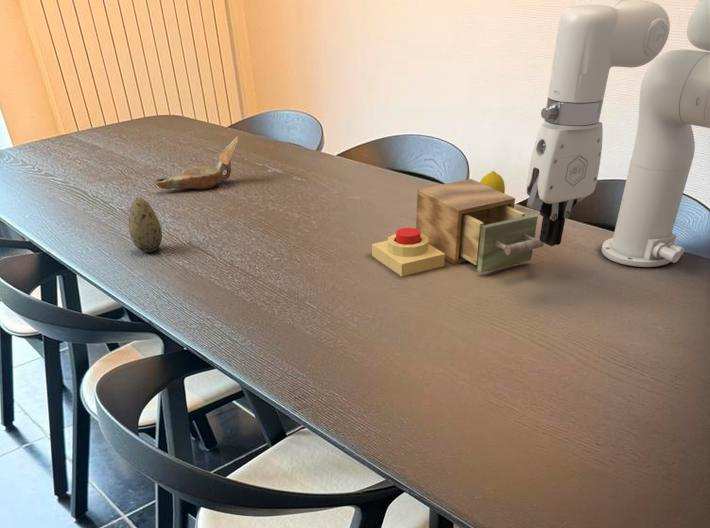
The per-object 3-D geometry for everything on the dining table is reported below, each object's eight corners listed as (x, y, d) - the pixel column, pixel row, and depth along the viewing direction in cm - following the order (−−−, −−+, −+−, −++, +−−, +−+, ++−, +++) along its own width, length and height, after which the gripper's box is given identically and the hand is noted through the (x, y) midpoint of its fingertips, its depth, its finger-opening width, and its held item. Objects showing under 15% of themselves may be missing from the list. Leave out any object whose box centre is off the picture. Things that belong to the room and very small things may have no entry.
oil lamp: (248, 185, 161) (243, 139, 155) (160, 199, 155) (151, 152, 148) (238, 175, 167) (232, 131, 161) (152, 189, 161) (143, 143, 154)
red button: (424, 243, 120) (425, 233, 119) (403, 247, 119) (403, 238, 118) (412, 235, 123) (412, 225, 122) (391, 240, 122) (391, 230, 121)
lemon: (501, 216, 140) (506, 175, 135) (475, 215, 141) (478, 174, 136) (502, 207, 144) (507, 167, 139) (476, 206, 145) (480, 167, 140)
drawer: (548, 269, 117) (556, 223, 112) (497, 282, 113) (502, 236, 108) (489, 238, 128) (494, 195, 123) (441, 249, 125) (444, 206, 120)
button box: (444, 266, 121) (445, 244, 119) (401, 276, 118) (402, 254, 116) (412, 246, 129) (413, 225, 126) (371, 255, 126) (371, 234, 123)
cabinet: (508, 251, 125) (515, 198, 119) (454, 264, 122) (458, 210, 115) (466, 229, 135) (471, 178, 129) (415, 240, 131) (417, 189, 125)
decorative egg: (128, 255, 129) (115, 201, 123) (145, 244, 134) (133, 191, 127) (154, 258, 128) (142, 204, 121) (171, 247, 132) (160, 194, 126)
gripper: (548, 124, 89) (527, 259, 101) (632, 111, 94) (602, 241, 106) (513, 114, 94) (496, 243, 106) (594, 102, 99) (570, 227, 111)
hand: (549, 242), depth 106 cm, fingers closed
